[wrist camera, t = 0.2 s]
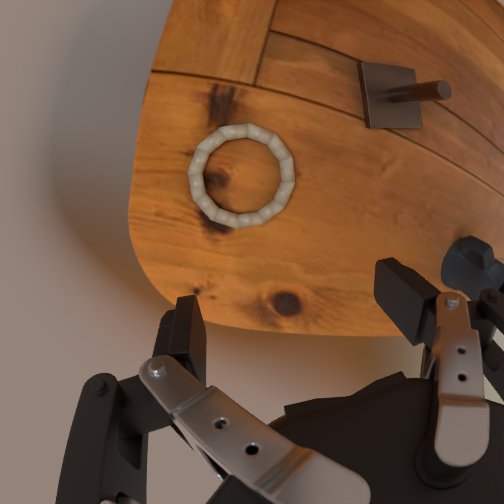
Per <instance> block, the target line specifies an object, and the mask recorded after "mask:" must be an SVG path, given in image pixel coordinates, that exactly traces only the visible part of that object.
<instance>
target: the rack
mask: <svg viewBox="0 0 504 504" xmlns="http://www.w3.org/2000/svg"><path fill="white" fill-rule="evenodd" d="M357 68H358V73H359V79H360V86H361V92H362V99H363V107H364V115H365V123H366V128H411V129H422V121H421V111H420V103H419V102H424V101H442V100H449V99H450V98H451V94H452V92H451V88H450V86H449V84H448V83H447V82H446V81H444V80H439V81H431V82H424V83H418V84H417V82H416V76H415V70H414V69H411V68H405V67H399V66H392V65H385V64H376V63H366V62H360V63H358V64H357Z"/></svg>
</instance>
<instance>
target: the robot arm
mask: <svg viewBox="0 0 504 504" xmlns="http://www.w3.org/2000/svg"><path fill="white" fill-rule="evenodd" d="M374 297H375V300H376V302H377V304H378V305H379V306H380V307H381V308H382V309H383V311H384V312H385V313H386V314H387V315H388V316H389V318H390V319H391V320H392V321H393V322H394V324H395V325H396V326H397V327H398V328H399V330H400V331H401V332H402V333H403V334H404V336H405V337H406V338H407V339H408V340H409V342H410V343H411V344H412V345H413V346H415V345H418V344H420V343H424V344H425V346H424V349H423V356H422V364H421V373H420V378H406V377H405V376H404V374H403V373H402V371H400V372H398V373H395V374H393V375H390V376H387V377H384V378H382V379H379V380H377V381H374V382H373V383H371V384H370V385H368V386H366V387H365V388H363V389H362V390H360V391H358V392H356V393H355V394H353V395H351V396H346V397H334V398H318V399H312V400H309V401H304V402H300V403H296V404H291V405H286V406H284V411H285V415H284V416H282V417H279V418H278V419H276V420H274V421H272V422H271V423H269V424H268V425H266V424H265V423H263V422H262V421H261V420H259V419H258V418H256V417H255V416H254V415H252V414H251V413H249V412H248V411H247V410H245V409H244V408H243V407H241V406H240V405H239V404H237V403H236V402H235V401H234V400H232V399H231V398H229V397H228V396H227V395H226V394H225V393H223V392H222V391H220V390H219V389H218V388H217V387H215V386H210V387H209V388H207V387H206V330H205V325H204V322H203V318H202V315H201V311H200V308H199V304H198V300H197V297H196V295H189V296H183V297H178V298H177V303H176V308H175V310H169V311H167V312H166V313H165V315H164V316H163V317H162V318H161V322H160V326H159V330H158V335H157V338H156V342H155V346H154V351H153V355H152V358H150V359H148V360H147V361H146V362H144V363H143V364H142V366H141V367H140V370H139V374H138V375H136V376H133V377H130V378H127V379H124V380H121V381H117V379H116V378H115V376H113V375H112V374H109V373H100V374H97V375H94V376H93V377H91V378H90V379H89V380H87V382H86V383H85V385H84V386H83V389H82V392H81V395H80V399H79V402H78V405H77V408H76V412H75V415H74V419H73V423H72V426H71V430H70V434H69V438H68V442H67V446H66V450H65V454H64V459H63V464H62V469H61V474H60V479H59V485H58V491H57V497H56V503H55V504H146V482H147V451H148V449H147V447H148V433H149V432H151V431H155V430H158V429H161V428H164V427H167V426H170V427H171V428H172V429H173V431H174V432H175V433H176V434H177V435H178V436H179V437H180V439H181V440H182V441H183V442H184V443H185V444H186V445H187V446H188V447H189V448H190V449H191V450H192V451H193V452H194V453H195V454H196V456H198V458H199V459H200V460H201V461H202V462H203V463H204V464H205V466H206V467H207V468H208V469H209V470H210V471H211V472H212V473H213V474H214V475H215V476H216V477H217V478H218V479H220V480H221V481H222V483H221V485H220V486H219V487H218V489H217V490H216V491H215V492H214V494H213V495H212V496H211V498H210V499H209V500H208V501H207V503H206V504H504V405H502V404H500V403H496V402H493V401H490V400H487V399H485V397H484V378H483V374H484V375H485V377H486V378H487V379H488V381H489V382H490V383H491V385H492V386H493V387H494V389H495V390H496V391H497V393H498V394H499V395H500V397H501V398H502V400H503V401H504V351H503V350H502V349H501V348H500V347H499V346H498V345H497V344H496V342H495V341H494V340H493V336H494V334H495V331H496V329H497V328H498V329H499V330H500V331H501V332H502V333H503V335H504V294H503V293H501V292H500V291H498V290H496V289H492V288H485V289H483V290H481V291H480V294H479V298H478V300H475V301H466V299H465V298H464V297H463V296H461V295H460V294H457V293H454V292H443V293H442V292H440V291H439V290H438V289H437V288H436V287H434V286H433V285H432V284H431V283H430V282H428V281H427V280H425V278H423V277H422V276H420V274H418V273H417V272H416V271H415V270H413V269H411V268H409V267H407V266H404V265H402V264H401V263H400V262H398V261H397V260H396V259H395V258H393V257H391V258H386V259H382V260H378V261H377V262H376V266H375V281H374Z"/></svg>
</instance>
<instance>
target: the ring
mask: <svg viewBox="0 0 504 504" xmlns="http://www.w3.org/2000/svg"><path fill="white" fill-rule="evenodd" d="M246 137H247V138H250V139H253V140H255V141H258V142H260V143H263V144H265V145H267V146H268V148H269V149H270V150H271V152H272V153H273V154H274V155H275V157H276V158H277V159H278V161H279V167H280V175H281V182H280V185H279V187H278V189H277V192H276V194H275V196H274V199H273V200H271V201H270V202H269V203H268V204H266V205H265V206H264V207H262V208H261V209H260V210H259V211H256V212H250V213H244V214H235V213H232V212H229V211H226V210H223V209H220V208H219V207H218V206H217V205H216V204H215V203H214V202H213V200H212V199H211V198H210V197H209V196H208V195H207V194H206V191H205V185H204V179H203V174H202V173H203V170H204V167H205V165H206V162H207V159H208V157H209V154H210V153H211V152H212V151H214V150H215V149H216V148H217V147H219V146H220V145H221V144H222V143H224V142H225V141H226V140H233V139H239V138H246ZM188 178H189V183H190V189H191V194H192V199H193V201H194V202H195V203H196V204H197V205H198V206H199V207H200V208H201V210H202V211H203V212H204V213H205V214H206V215H207V216H208V218H209V219H210V220H212V221H215V222H218V223H221V224H224V225H227V226H229V227H232V228H235V229H239V228H245V227H251V226H257V225H263V224H265V223H266V222H267V221H268V220H270V219H271V218H272V217H274V216H275V215H276V214H277V213H279V212H280V211H281V210H283V209H284V208H285V206H286V204H287V202H288V199H289V197H290V195H291V192H292V190H293V188H294V185H295V173H294V164H293V157H292V154H291V153H290V152H289V150H288V149H287V148H286V146H285V145H284V144H283V143H282V141H281V140H280V139H279V137H278V136H277V135H276V134H275V133H273V132H271V131H268V130H266V129H263V128H261V127H258V126H256V125H253V124H251V123H244V124H237V125H230V126H224V127H220V128H218V129H217V130H216V131H214V132H213V133H212V134H211V135H209V136H208V137H207V138H206V139H205V140H203V141H202V142H201V143H200V144H198V146H197V148H196V150H195V153H194V156H193V158H192V161H191V164H190V166H189V169H188Z"/></svg>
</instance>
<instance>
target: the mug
mask: <svg viewBox="0 0 504 504" xmlns="http://www.w3.org/2000/svg"><path fill="white" fill-rule="evenodd" d="M441 278H442V281H443V283H444V285H446V286H447V287H449V288H452V289H454V290H461V291H462V292H463V293H464V294H466V295H467V296H468V297H469V298H470V299H471V300H472V301H475V300H478V298H479V294H480V291H481V290H483V289H485V288H492V289H496V290H498V291H500V292H501V293H503V294H504V264H503V263H502V262H500V261H498V260H497V259H495V258H494V254H493V250H492V247H491V246H490V245H489V244H487V243H485V242H484V241H482V240H480V239H478V238H476V237H473V236H468V237H464V238H461V239H459V240H457V241H456V242H455V243H454V244H453V245H452V246H451V247H450V249H449V250H448V252H447V254H446V256H445V258H444V261H443V264H442V269H441Z"/></svg>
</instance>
